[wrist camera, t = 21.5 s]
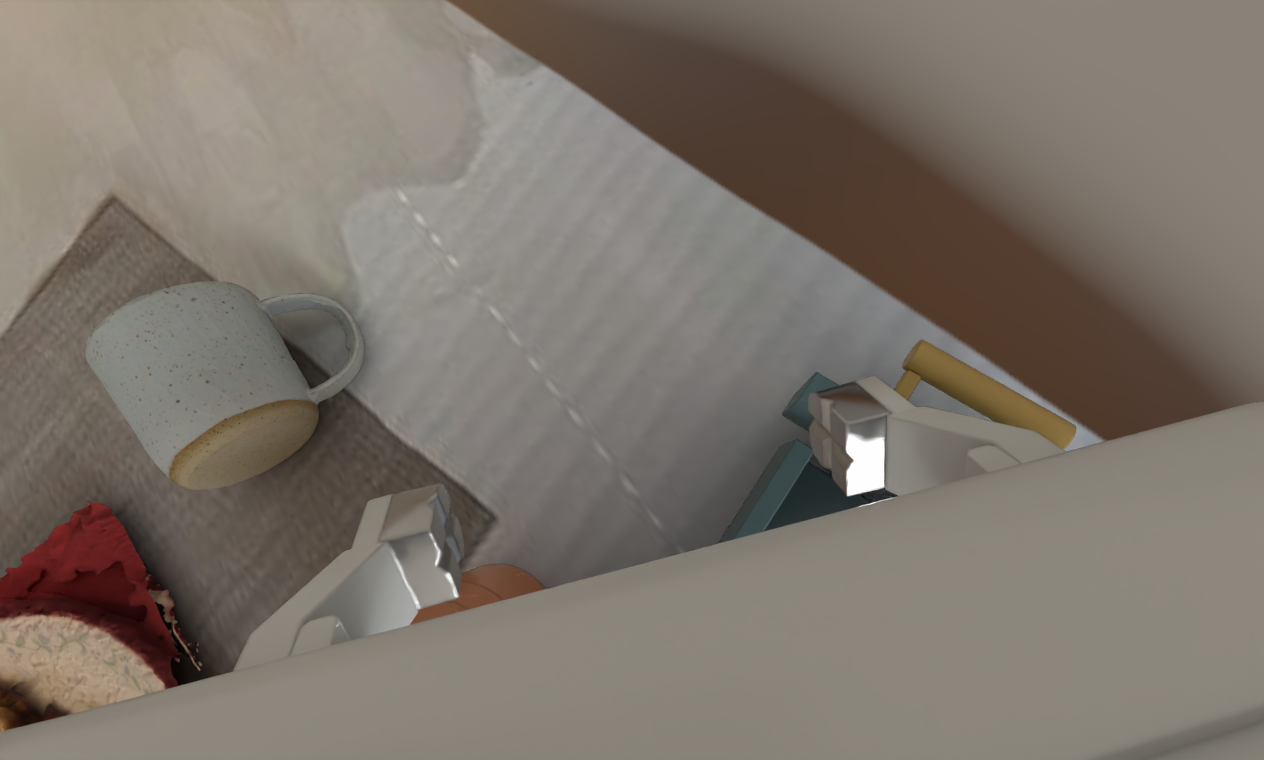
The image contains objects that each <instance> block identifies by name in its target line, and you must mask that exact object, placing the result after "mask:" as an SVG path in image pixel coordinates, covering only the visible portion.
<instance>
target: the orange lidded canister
mask: <svg viewBox="0 0 1264 760" xmlns="http://www.w3.org/2000/svg"><path fill="white" fill-rule="evenodd" d="M544 589H545V588H544V587H543V585H542V584H541V583H540V582H539V581H538V580H537V579H535V578H534V577H533V576H532V575H530V574H528V573H527V572H525V571H523V570H521V569H519V568H516V567H513V566H509V565H503V564H492V565H485V566H481V567H477V568H475V569H472V570H470V571H467V572H465V573H462V580H461V590H460V598H458V599H455V600H451V601H448V602H444V603H441V604H437V605H434V606H430V607H427V608H424V609H420V610H418V613H417V615H416V616H415V618H414V619H413V621H412V622H411V623H410V625H411V624H415V623H419V622H423V621H427V620H430V619H434V618H438V617H442V616H446V615H449V614H453V613H457V612H461V611H465V610H468V609H472V608H476V607H480V606H484V605H487V604H491V603H495V602H499V601H502V600H506V599H510V598H514V597H518V596H521V595H525V594H529V593H533V592H537V591H540V590H544Z"/></svg>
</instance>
